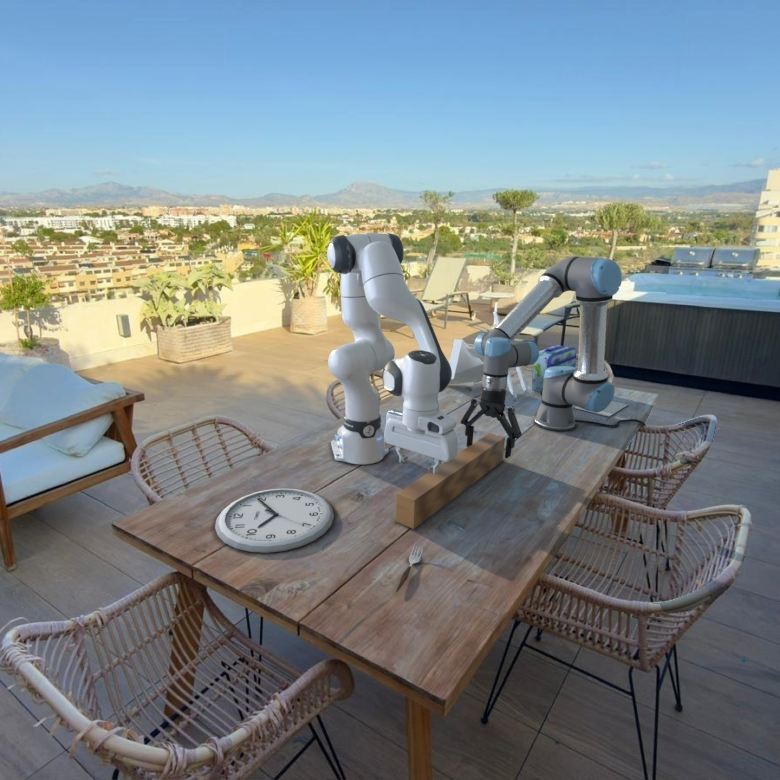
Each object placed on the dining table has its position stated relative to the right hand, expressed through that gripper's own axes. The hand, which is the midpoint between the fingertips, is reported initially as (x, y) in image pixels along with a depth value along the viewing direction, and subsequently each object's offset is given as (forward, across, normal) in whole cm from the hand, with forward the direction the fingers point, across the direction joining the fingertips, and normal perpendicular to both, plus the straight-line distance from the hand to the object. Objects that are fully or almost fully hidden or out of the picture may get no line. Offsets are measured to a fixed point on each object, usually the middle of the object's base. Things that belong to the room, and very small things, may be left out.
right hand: (488, 451), depth 168 cm
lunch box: (+3, -13, +93) cm, 94 cm away
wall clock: (+6, -28, -65) cm, 71 cm away
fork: (+6, +12, -61) cm, 63 cm away
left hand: (-9, 0, -41) cm, 42 cm away
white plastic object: (+4, -38, +68) cm, 78 cm away
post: (+5, 0, -20) cm, 21 cm away
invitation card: (+3, +13, +83) cm, 84 cm away
